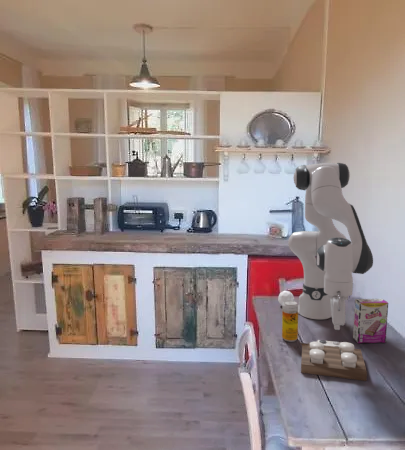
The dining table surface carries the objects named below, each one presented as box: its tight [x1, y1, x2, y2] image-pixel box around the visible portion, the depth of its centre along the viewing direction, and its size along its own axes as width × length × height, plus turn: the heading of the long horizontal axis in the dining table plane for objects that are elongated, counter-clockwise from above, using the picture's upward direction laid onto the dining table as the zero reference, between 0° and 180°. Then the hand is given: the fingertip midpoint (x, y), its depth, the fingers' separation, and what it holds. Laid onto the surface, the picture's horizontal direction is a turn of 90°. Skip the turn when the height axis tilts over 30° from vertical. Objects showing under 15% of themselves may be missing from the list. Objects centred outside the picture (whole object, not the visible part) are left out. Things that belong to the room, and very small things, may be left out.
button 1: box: [309, 341, 324, 351], centre depth 132 cm, size 5×5×4 cm
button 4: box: [341, 352, 357, 368], centre depth 122 cm, size 5×5×4 cm
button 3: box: [310, 349, 325, 364], centre depth 125 cm, size 5×5×4 cm
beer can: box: [281, 300, 299, 343], centre depth 147 cm, size 6×6×15 cm
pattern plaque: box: [316, 339, 342, 347], centre depth 141 cm, size 7×9×1 cm
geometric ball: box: [277, 290, 295, 306], centre depth 185 cm, size 8×8×8 cm
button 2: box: [339, 341, 355, 354], centre depth 129 cm, size 5×5×4 cm
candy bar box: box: [352, 298, 389, 344], centre depth 144 cm, size 11×5×16 cm, turn 92°
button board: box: [300, 342, 368, 382], centre depth 127 cm, size 16×20×3 cm
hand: (336, 328), depth 124 cm, fingers closed
